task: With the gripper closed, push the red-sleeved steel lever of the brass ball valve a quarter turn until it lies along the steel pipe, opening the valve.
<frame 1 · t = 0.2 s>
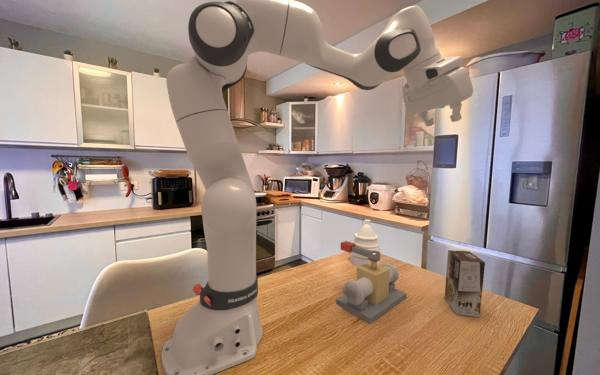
hand: (442, 123, 66), 54 cm above the table, tool tilted 30°, fingers open, 8 cm apart
lever: (360, 250, 78), point 14 cm above the table, hinge at 90.0°
honey pot: (365, 262, 106), on the table
valve: (371, 300, 76), on the table
coffee box: (460, 307, 73), on the table
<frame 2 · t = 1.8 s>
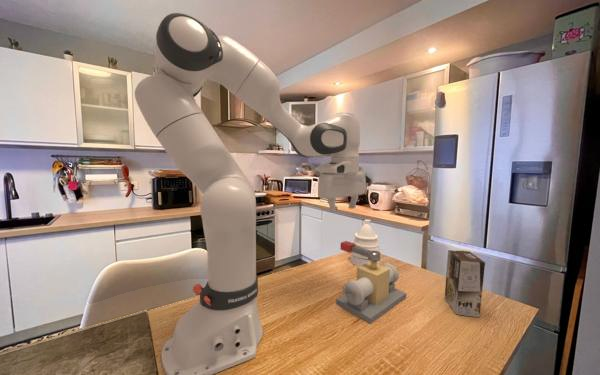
hand: (343, 210, 78), 27 cm above the table, tool pointing down, fingers open, 8 cm apart
nothing on the table moved.
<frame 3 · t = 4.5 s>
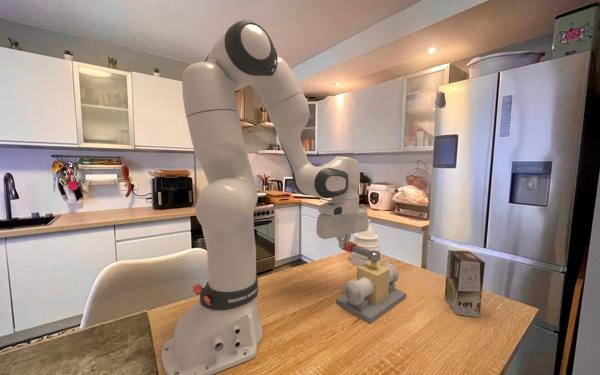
hand: (343, 247, 81), 15 cm above the table, tool pointing down, fingers closed
lever: (360, 250, 78), point 14 cm above the table, hinge at 87.5°, touching gripper
everything else where it was.
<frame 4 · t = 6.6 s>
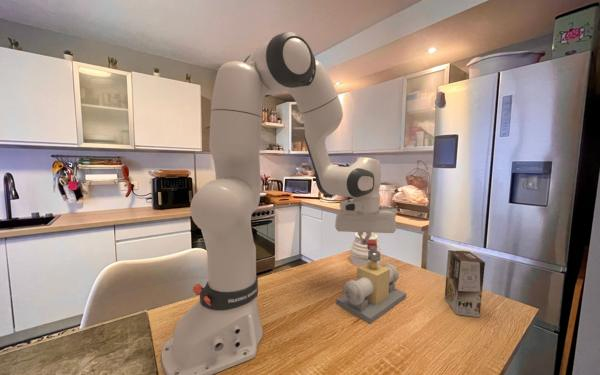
hand: (364, 244, 84), 15 cm above the table, tool pointing down, fingers closed
lever: (372, 249, 79), point 14 cm above the table, hinge at 36.9°, touching gripper
everything else where it was.
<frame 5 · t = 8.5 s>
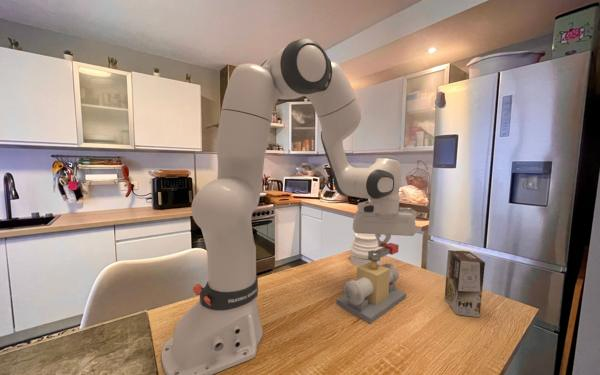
hand: (382, 246, 83), 14 cm above the table, tool pointing down, fingers closed
lever: (383, 251, 78), point 14 cm above the table, hinge at -0.1°, touching gripper
everything else where it was.
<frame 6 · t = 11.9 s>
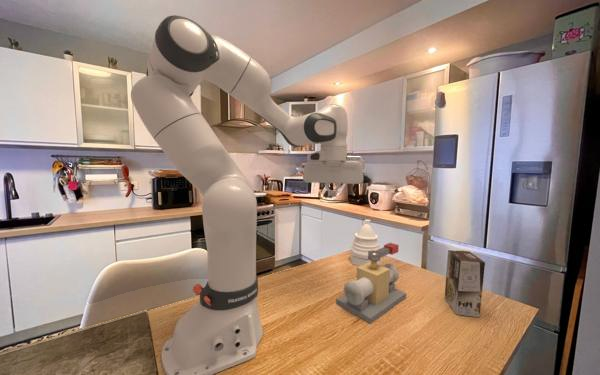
hand: (332, 196, 83), 31 cm above the table, tool pointing down, fingers closed
lever: (383, 251, 78), point 14 cm above the table, hinge at -0.1°
everything else where it was.
at the end: lever at +0° (first picture: +90°); coffee box moved 0.2 cm from its start; honey pot moved 0.3 cm from its start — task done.
